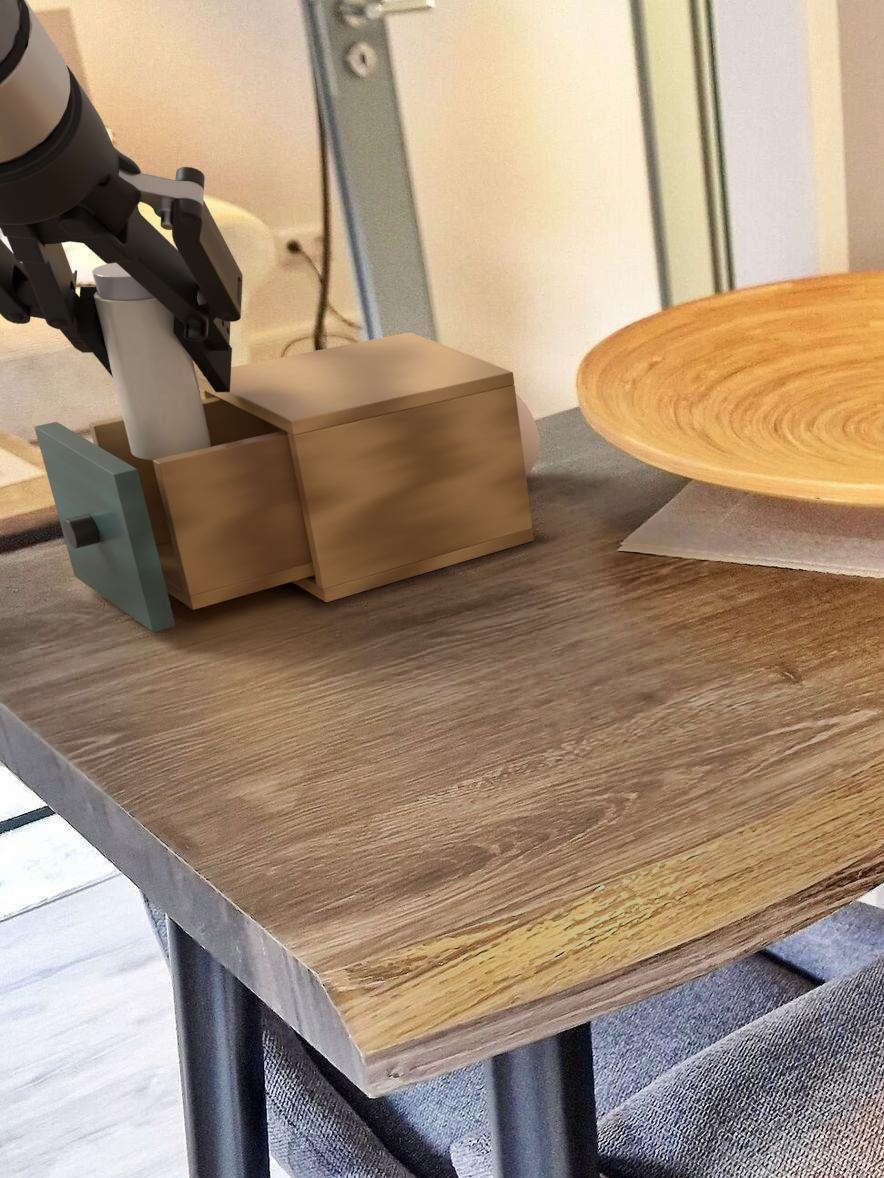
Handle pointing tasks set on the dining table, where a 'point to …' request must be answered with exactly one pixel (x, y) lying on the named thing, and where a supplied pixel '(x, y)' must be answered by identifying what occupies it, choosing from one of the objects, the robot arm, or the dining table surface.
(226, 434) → the drawer
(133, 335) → the salt shaker
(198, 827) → the dining table surface
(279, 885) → the dining table surface
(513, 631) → the dining table surface
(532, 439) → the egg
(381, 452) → the cabinet
